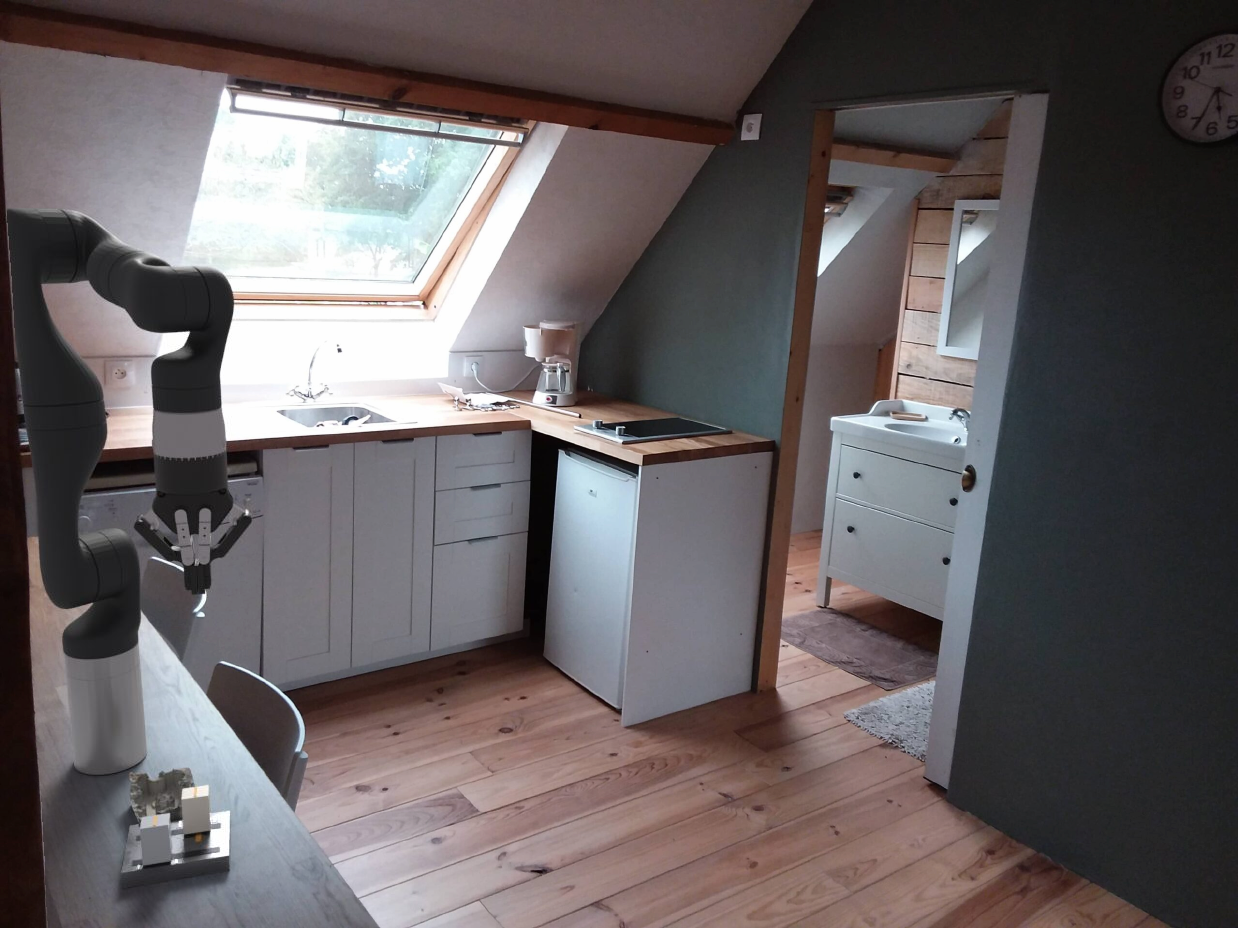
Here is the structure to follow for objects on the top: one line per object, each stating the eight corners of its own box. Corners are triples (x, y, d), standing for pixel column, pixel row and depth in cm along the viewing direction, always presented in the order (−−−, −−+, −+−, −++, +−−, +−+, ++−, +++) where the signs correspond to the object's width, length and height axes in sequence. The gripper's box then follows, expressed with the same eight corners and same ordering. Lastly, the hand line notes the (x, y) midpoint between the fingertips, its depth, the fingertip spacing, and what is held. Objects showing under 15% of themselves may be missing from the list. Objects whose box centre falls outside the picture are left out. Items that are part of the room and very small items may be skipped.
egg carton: (129, 797, 131) (126, 769, 131) (190, 783, 135) (188, 756, 134) (135, 840, 122) (133, 810, 122) (201, 824, 126) (199, 795, 125)
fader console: (131, 839, 123) (129, 824, 122) (230, 824, 127) (229, 809, 126) (122, 887, 114) (121, 872, 114) (229, 869, 118) (228, 854, 118)
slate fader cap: (144, 852, 117) (141, 816, 116) (172, 848, 118) (169, 812, 117) (142, 865, 115) (139, 828, 113) (171, 860, 116) (168, 823, 114)
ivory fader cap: (184, 823, 123) (182, 788, 122) (211, 819, 124) (209, 784, 123) (183, 834, 121) (181, 798, 119) (210, 830, 122) (208, 794, 120)
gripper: (252, 438, 117) (258, 576, 121) (128, 441, 112) (138, 585, 117) (253, 453, 110) (259, 599, 114) (120, 457, 106) (132, 609, 110)
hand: (198, 592), depth 115 cm, fingers closed
